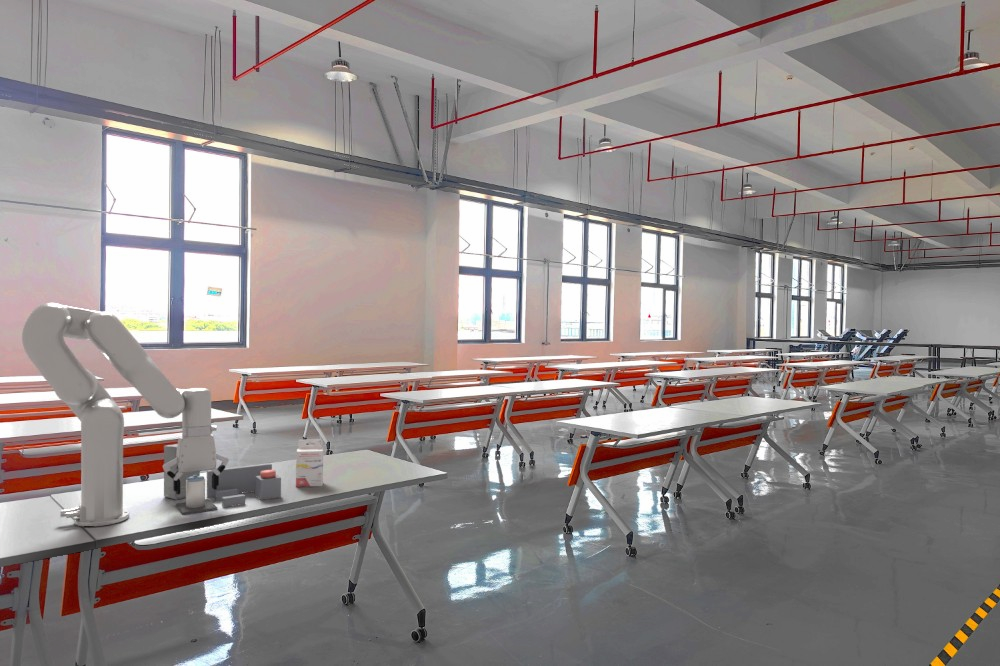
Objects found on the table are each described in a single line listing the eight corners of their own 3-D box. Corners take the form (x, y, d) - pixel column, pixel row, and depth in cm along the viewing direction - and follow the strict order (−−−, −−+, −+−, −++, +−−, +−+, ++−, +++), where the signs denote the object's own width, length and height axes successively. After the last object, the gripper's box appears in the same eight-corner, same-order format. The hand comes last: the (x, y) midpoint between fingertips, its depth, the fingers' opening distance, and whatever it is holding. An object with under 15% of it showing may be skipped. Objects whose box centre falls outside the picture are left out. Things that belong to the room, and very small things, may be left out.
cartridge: (187, 509, 182) (188, 478, 182) (184, 504, 186) (184, 475, 186) (206, 506, 185) (207, 476, 185) (202, 502, 189) (203, 473, 189)
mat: (182, 514, 179) (182, 512, 179) (175, 505, 188) (175, 503, 188) (217, 509, 184) (217, 507, 184) (208, 500, 193) (208, 498, 193)
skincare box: (175, 500, 193) (176, 447, 193) (161, 497, 197) (162, 445, 196) (201, 494, 200) (201, 443, 200) (187, 491, 204) (188, 440, 204)
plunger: (262, 493, 196) (262, 473, 196) (258, 490, 199) (258, 471, 199) (277, 491, 198) (277, 472, 198) (273, 488, 202) (273, 469, 202)
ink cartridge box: (295, 487, 210) (296, 442, 210) (296, 483, 215) (296, 439, 215) (323, 486, 212) (323, 441, 212) (323, 482, 217) (323, 438, 217)
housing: (218, 508, 186) (218, 480, 186) (206, 496, 198) (206, 470, 198) (284, 498, 197) (284, 472, 197) (269, 487, 209) (270, 463, 209)
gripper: (225, 427, 194) (225, 484, 194) (160, 432, 184) (160, 492, 184) (231, 430, 188) (231, 489, 188) (165, 436, 177) (165, 498, 178)
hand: (196, 490), depth 186 cm, fingers open, 9 cm apart
